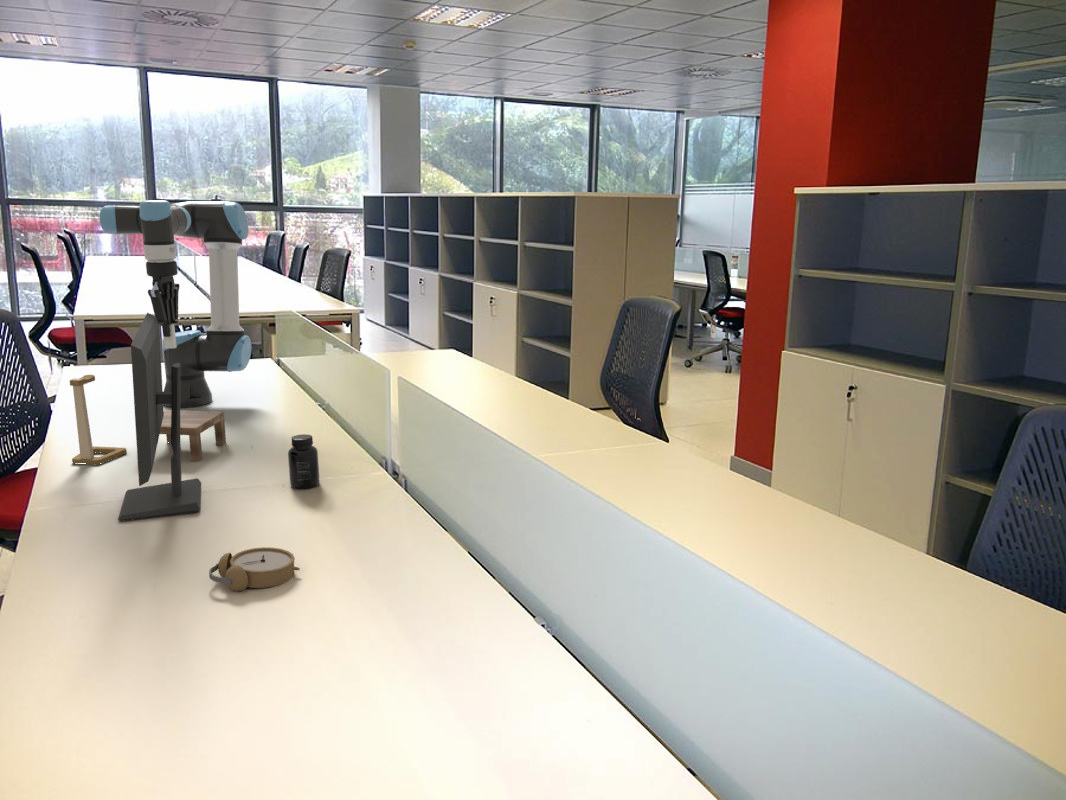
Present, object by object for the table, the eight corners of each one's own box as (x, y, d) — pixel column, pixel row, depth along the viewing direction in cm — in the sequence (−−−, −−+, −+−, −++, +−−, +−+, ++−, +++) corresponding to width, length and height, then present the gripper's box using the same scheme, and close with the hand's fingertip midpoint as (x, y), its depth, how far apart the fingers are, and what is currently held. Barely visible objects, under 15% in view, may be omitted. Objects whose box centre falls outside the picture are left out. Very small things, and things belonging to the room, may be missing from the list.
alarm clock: (305, 565, 150) (220, 571, 141) (301, 590, 150) (217, 599, 142) (284, 543, 159) (203, 548, 150) (281, 567, 159) (200, 574, 150)
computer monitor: (131, 476, 202) (112, 313, 192) (202, 469, 208) (188, 311, 198) (111, 546, 163) (86, 346, 153) (199, 535, 168) (181, 342, 158)
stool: (167, 409, 228) (135, 425, 212) (223, 411, 227) (195, 428, 211) (170, 441, 230) (139, 459, 215) (226, 443, 229) (198, 461, 213)
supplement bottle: (325, 482, 200) (322, 434, 197) (309, 491, 194) (306, 442, 191) (301, 478, 202) (298, 431, 199) (284, 487, 196) (281, 439, 193)
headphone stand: (129, 452, 220) (119, 371, 214) (104, 465, 209) (93, 381, 204) (91, 450, 221) (81, 370, 215) (65, 464, 210) (53, 379, 205)
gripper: (162, 263, 212) (172, 353, 218) (186, 258, 224) (194, 343, 231) (134, 263, 212) (144, 352, 219) (159, 257, 225) (168, 342, 231)
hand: (170, 347), depth 225 cm, fingers closed
